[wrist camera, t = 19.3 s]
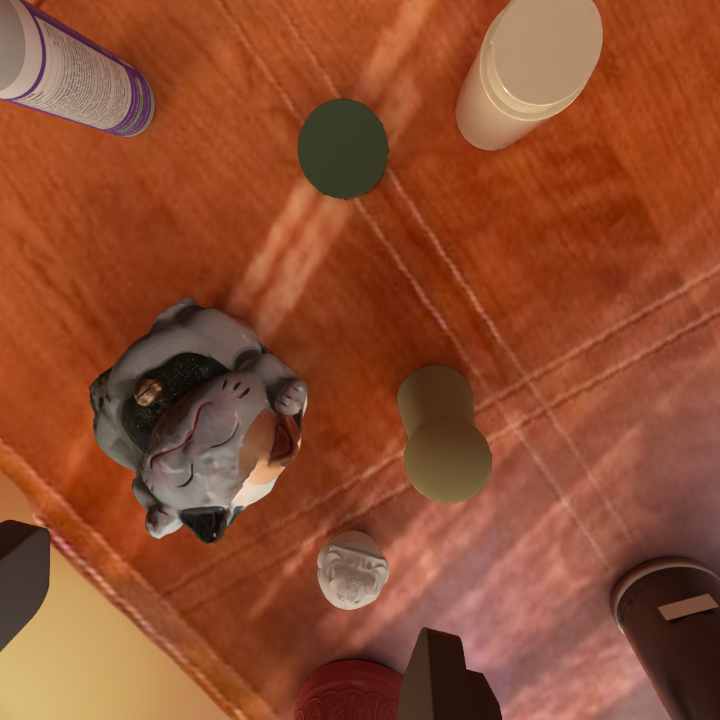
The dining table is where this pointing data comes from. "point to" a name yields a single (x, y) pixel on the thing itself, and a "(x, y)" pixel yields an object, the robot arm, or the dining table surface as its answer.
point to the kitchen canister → (350, 693)
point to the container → (69, 74)
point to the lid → (343, 149)
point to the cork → (442, 435)
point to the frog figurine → (352, 570)
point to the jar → (528, 69)
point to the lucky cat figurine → (199, 418)
